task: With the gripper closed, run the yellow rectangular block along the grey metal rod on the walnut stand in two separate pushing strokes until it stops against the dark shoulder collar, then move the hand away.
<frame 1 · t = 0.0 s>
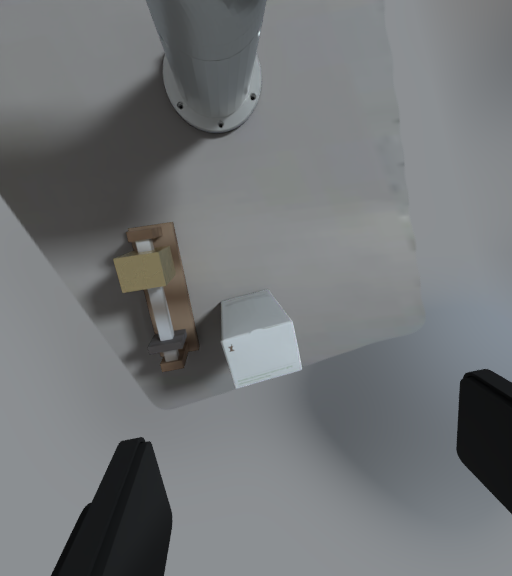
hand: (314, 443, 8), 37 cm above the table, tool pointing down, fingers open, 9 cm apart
rod stand: (167, 290, 44), on the table
skincare box: (249, 310, 46), on the table
yellow rectangular block: (148, 267, 36), point 7 cm above the table, slide at 8.0 cm
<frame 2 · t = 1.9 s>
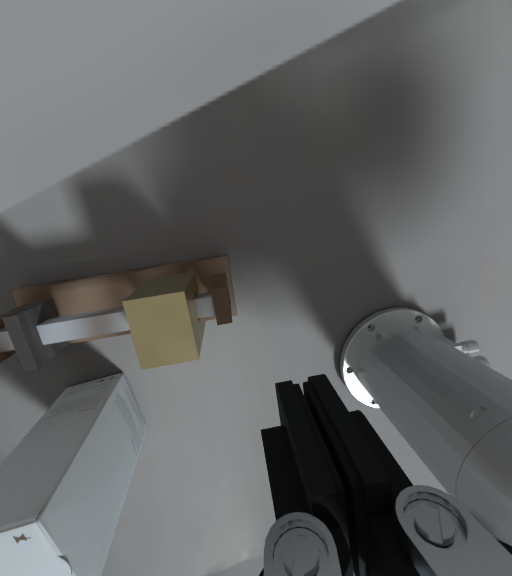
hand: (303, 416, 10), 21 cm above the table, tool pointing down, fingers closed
rod stand: (134, 299, 29), on the table
skincare box: (112, 408, 32), on the table
yellow rectangular block: (171, 314, 22), point 7 cm above the table, slide at 8.0 cm
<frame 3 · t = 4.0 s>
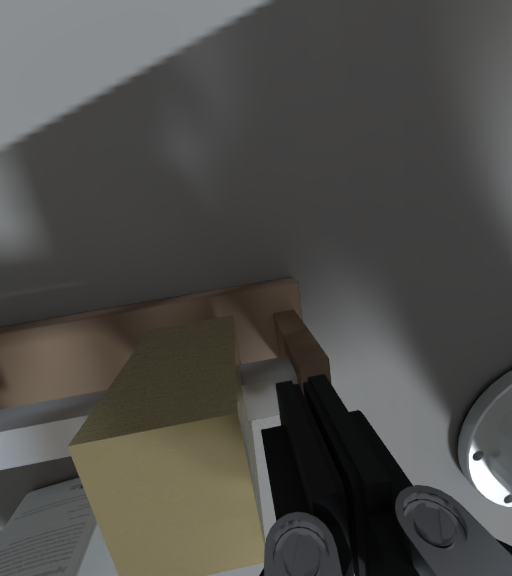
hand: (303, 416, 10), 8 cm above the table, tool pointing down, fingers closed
rod stand: (136, 352, 17), on the table
skincare box: (102, 516, 20), on the table
yellow rectangular block: (193, 417, 11), point 7 cm above the table, slide at 7.3 cm, touching gripper
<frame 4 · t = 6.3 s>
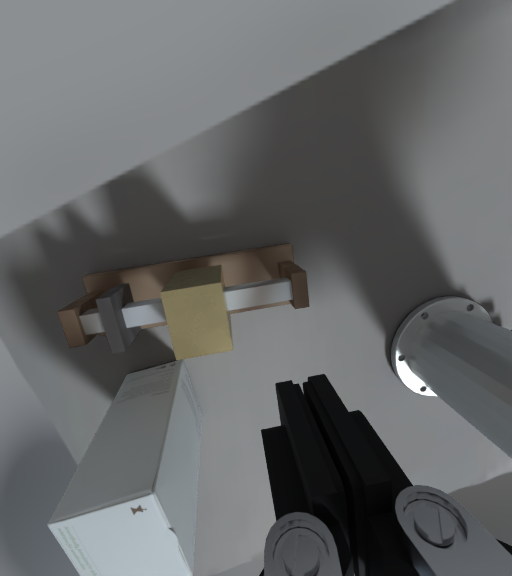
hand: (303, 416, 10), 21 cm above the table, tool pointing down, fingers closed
rod stand: (197, 286, 29), on the table
skincare box: (169, 394, 32), on the table
yellow rectangular block: (201, 306, 23), point 7 cm above the table, slide at 3.9 cm
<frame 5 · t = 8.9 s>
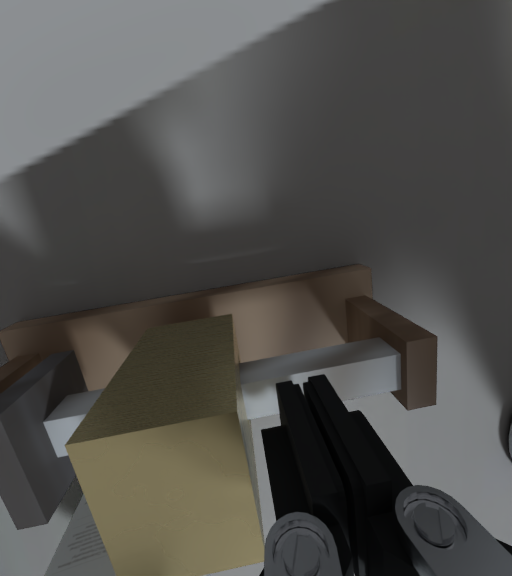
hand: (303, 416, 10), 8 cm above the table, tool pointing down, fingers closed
rod stand: (204, 338, 17), on the table
skincare box: (160, 502, 20), on the table
yellow rectangular block: (192, 416, 11), point 7 cm above the table, slide at 3.1 cm, touching gripper
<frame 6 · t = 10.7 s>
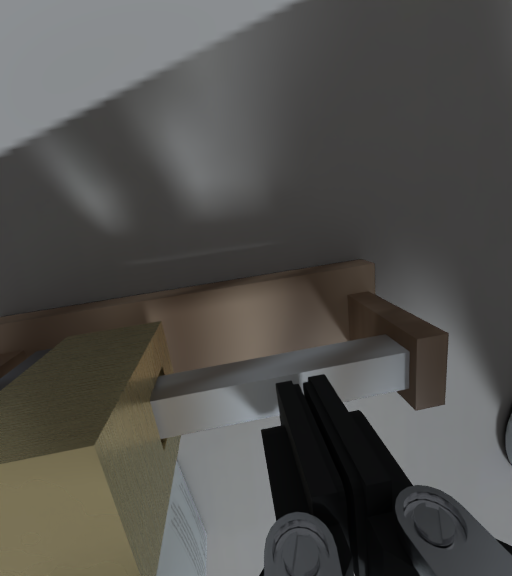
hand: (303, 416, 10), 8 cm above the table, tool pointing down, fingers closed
rod stand: (200, 335, 17), on the table
skincare box: (152, 505, 20), on the table
yellow rectangular block: (98, 436, 10), point 7 cm above the table, slide at 0.0 cm
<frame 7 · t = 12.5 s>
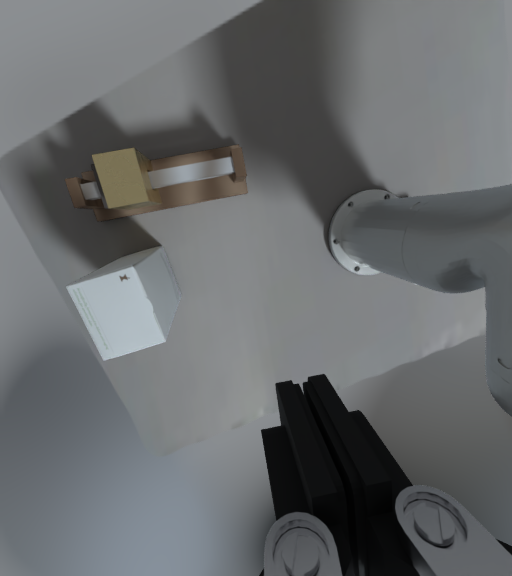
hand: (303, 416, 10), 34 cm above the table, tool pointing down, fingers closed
rod stand: (169, 184, 38), on the table
skincare box: (154, 277, 41), on the table
yellow rectangular block: (131, 182, 31), point 7 cm above the table, slide at 0.0 cm
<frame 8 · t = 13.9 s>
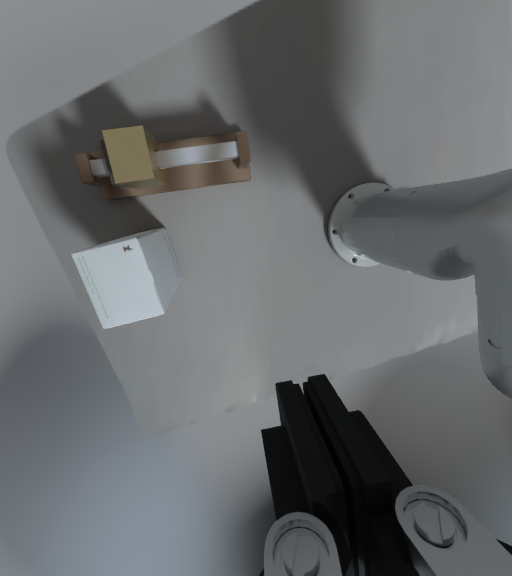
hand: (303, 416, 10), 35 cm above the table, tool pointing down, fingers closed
rod stand: (175, 167, 39), on the table
skincare box: (155, 258, 42), on the table
yellow rectangular block: (138, 161, 32), point 7 cm above the table, slide at 0.0 cm
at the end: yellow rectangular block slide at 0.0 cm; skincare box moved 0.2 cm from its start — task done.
